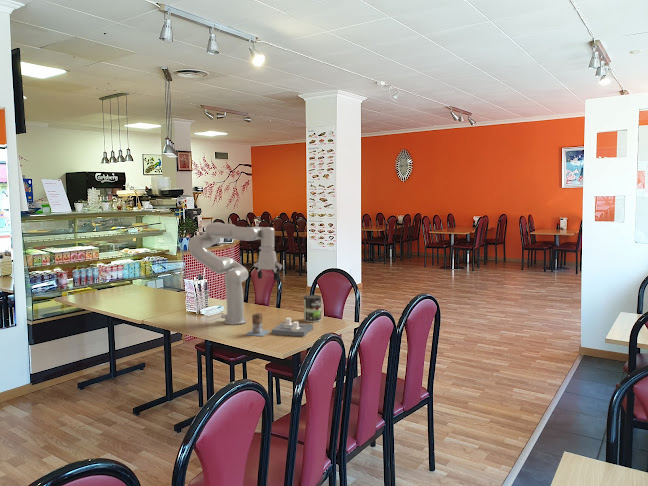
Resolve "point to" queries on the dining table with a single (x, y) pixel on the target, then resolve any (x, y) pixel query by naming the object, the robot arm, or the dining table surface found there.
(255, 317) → the brown grey cylinder
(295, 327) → the tab
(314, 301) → the coffee can
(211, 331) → the dining table surface
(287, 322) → the tab
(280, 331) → the switch panel
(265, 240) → the robot arm
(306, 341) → the dining table surface
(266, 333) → the mat
